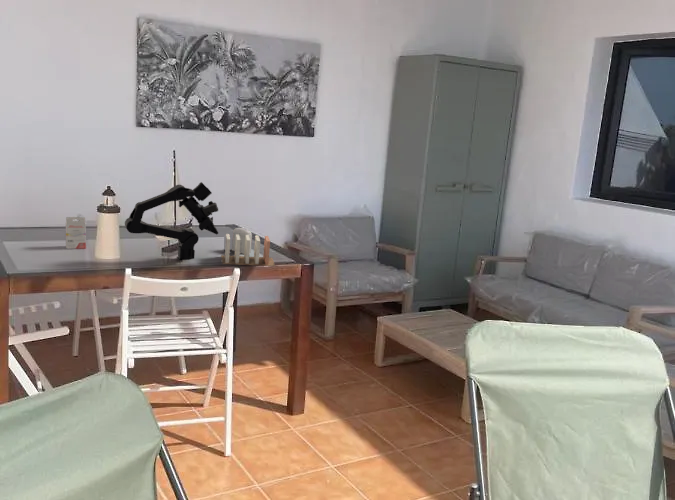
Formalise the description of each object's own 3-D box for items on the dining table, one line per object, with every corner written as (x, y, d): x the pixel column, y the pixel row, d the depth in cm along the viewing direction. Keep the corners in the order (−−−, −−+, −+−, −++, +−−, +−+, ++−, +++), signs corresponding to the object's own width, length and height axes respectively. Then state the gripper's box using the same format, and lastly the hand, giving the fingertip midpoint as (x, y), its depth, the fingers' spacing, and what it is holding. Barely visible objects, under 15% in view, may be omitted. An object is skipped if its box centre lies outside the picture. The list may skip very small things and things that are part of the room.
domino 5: (265, 264, 316) (266, 241, 313) (263, 258, 325) (264, 235, 323) (268, 264, 316) (270, 241, 313) (266, 258, 326) (268, 236, 323)
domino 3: (245, 263, 314) (247, 240, 311) (244, 257, 323) (245, 234, 321) (248, 263, 314) (250, 240, 312) (247, 257, 324) (248, 235, 321)
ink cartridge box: (85, 246, 319) (85, 215, 315) (85, 248, 314) (86, 217, 311) (65, 246, 316) (65, 214, 312) (65, 248, 311) (65, 217, 307)
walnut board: (222, 265, 310) (222, 263, 310) (221, 257, 323) (221, 255, 323) (275, 267, 315) (275, 265, 315) (272, 259, 328) (272, 257, 328)
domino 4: (255, 263, 315) (256, 240, 312) (253, 257, 324) (255, 235, 322) (258, 264, 315) (260, 240, 313) (256, 258, 325) (258, 235, 322)
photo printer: (252, 254, 333) (253, 230, 330) (246, 256, 329) (247, 231, 326) (236, 250, 338) (237, 225, 335) (230, 251, 335) (231, 226, 332)
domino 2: (235, 263, 313) (237, 239, 310) (234, 257, 323) (235, 234, 320) (238, 263, 313) (240, 239, 311) (237, 257, 323) (239, 234, 320)
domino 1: (225, 262, 312) (226, 239, 309) (224, 256, 322) (226, 233, 319) (228, 262, 312) (230, 239, 310) (227, 256, 322) (229, 234, 319)
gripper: (208, 200, 299) (232, 227, 304) (208, 192, 317) (230, 217, 322) (188, 217, 299) (212, 243, 304) (189, 208, 317) (212, 232, 322)
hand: (217, 233), depth 313 cm, fingers closed
